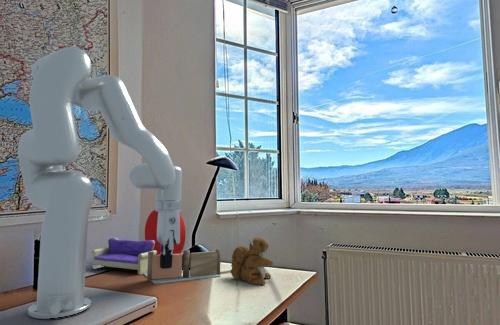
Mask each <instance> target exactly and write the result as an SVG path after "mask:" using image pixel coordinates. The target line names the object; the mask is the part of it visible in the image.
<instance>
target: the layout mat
mask: <svg viewBox="0 0 500 325" xmlns="http://www.w3.org/2000/svg"><path fill="white" fill-rule="evenodd" d="M143 275H144V276H145V277H146V278H147V273H144V274H143ZM189 275H190V270H189ZM218 277H219V278H220V277H221V274H220V275H218V274H208V275H199V276H189V278H183V270H182V277H177V278H162V279H149V281H150V282H151V283H153V285H161V284H168V283H169V284H170V283H179V282H186V281H193V280H195V281H196V280H203V279H211V278H212V279H213V278H218Z"/></svg>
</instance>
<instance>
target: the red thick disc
mask: <svg viewBox="0 0 500 325" xmlns="http://www.w3.org/2000/svg"><path fill="white" fill-rule="evenodd" d="M179 217H180V243H179V245H176V244H174V243H173V246H174V249H173V253H172V254H182V252H183V249H184V247H185V242H186V236H187V235H186V234H187V232H186V226H185V221H184V218H183V217H182V215H181V214H180V213H179ZM145 221H146V222H145V225H144V241H150V240H154V241H155V245H154V249H153V251H154V250H156V251H157V254H156V255H160V254H161V244H160V243H159V242H158V241H157V222H158V211H155V209H153V210H152V211H151V212H149V215H148V216H147V219H146V220H145Z"/></svg>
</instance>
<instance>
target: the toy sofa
mask: <svg viewBox="0 0 500 325" xmlns="http://www.w3.org/2000/svg"><path fill="white" fill-rule="evenodd" d="M107 243H108V246H107V247H101V248H97V249H92V250H91V254H92V265H101V266H106V267H110V268H116V269H117V268H119V269H126V270H136V271H137V275H138V276H141V275H144V273H147V269H148V252H154V253H153V255H156V254H157V251H156V250H154V251H153V249H154V245H155V241H154V240H150V241H145V240H131V239H118V238H116V237H111V238H109V239H108V241H107ZM92 265H91V266H92Z"/></svg>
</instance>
